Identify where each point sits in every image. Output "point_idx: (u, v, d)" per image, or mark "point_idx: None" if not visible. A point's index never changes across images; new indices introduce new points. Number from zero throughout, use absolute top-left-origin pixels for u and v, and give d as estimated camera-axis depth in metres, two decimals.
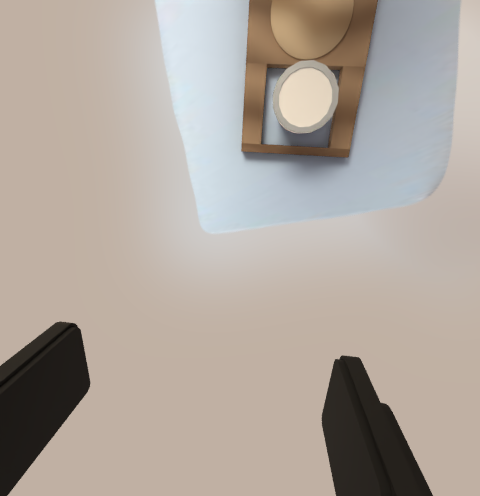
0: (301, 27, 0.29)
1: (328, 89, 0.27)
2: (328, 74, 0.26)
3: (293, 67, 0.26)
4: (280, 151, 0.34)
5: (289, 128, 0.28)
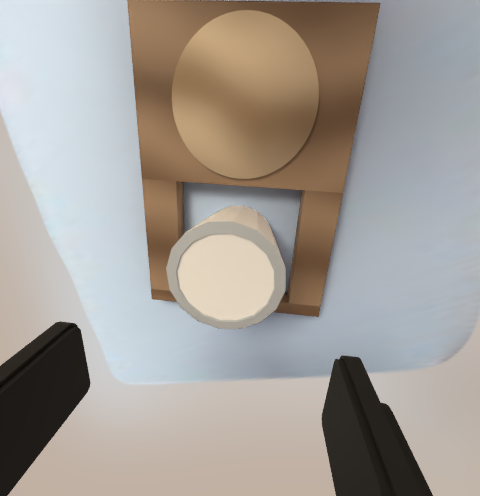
0: (228, 129, 0.16)
1: (266, 269, 0.14)
2: (264, 247, 0.13)
3: (197, 231, 0.14)
4: None
5: (202, 320, 0.16)
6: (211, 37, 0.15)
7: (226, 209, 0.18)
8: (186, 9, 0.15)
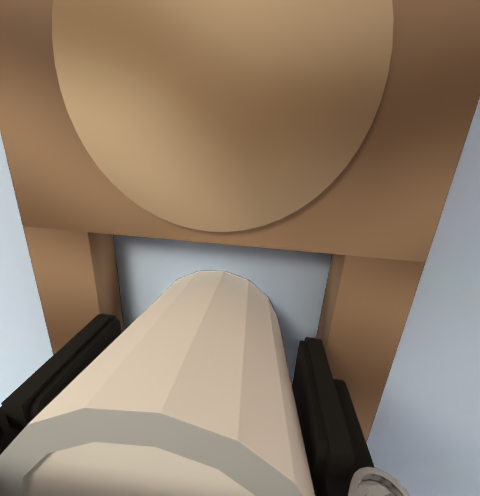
0: (181, 129, 0.07)
1: None
2: (258, 484, 0.04)
3: (58, 428, 0.05)
4: None
5: None
6: None
7: (185, 290, 0.09)
8: None
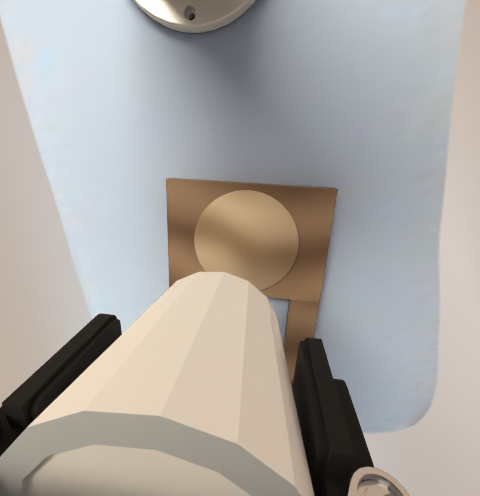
0: (234, 259, 0.23)
1: None
2: (258, 487, 0.04)
3: (57, 431, 0.05)
4: None
5: None
6: (223, 204, 0.21)
7: (185, 291, 0.09)
8: (206, 186, 0.21)
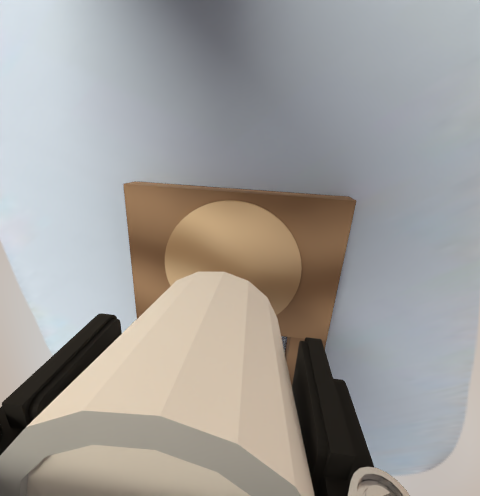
0: None
1: None
2: (258, 487, 0.04)
3: (56, 430, 0.04)
4: None
5: None
6: (201, 219, 0.16)
7: (185, 291, 0.09)
8: (178, 194, 0.16)
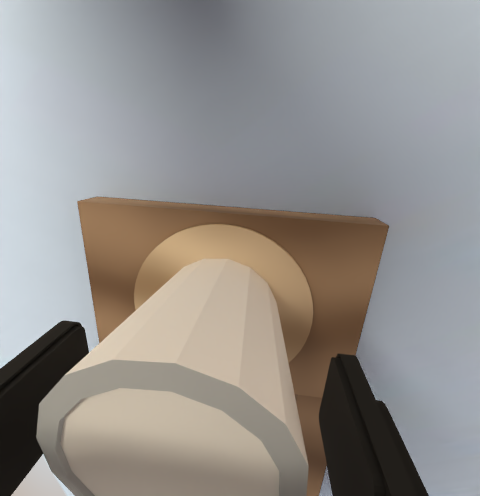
0: None
1: (261, 463, 0.06)
2: (255, 424, 0.05)
3: (90, 377, 0.05)
4: None
5: None
6: (179, 248, 0.12)
7: (192, 274, 0.10)
8: (149, 215, 0.12)
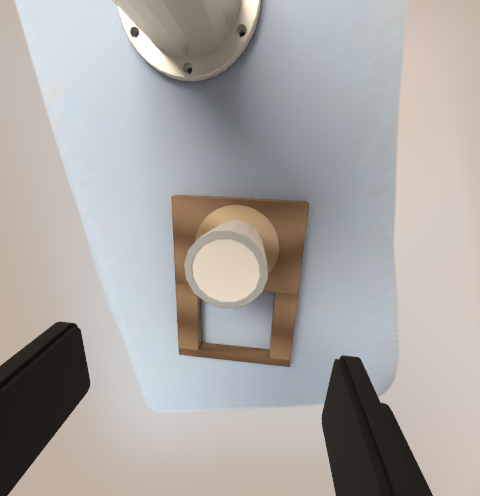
0: None
1: (254, 263, 0.20)
2: (251, 247, 0.20)
3: (206, 237, 0.20)
4: (219, 357, 0.32)
5: (209, 302, 0.22)
6: (217, 216, 0.26)
7: (226, 223, 0.24)
8: (204, 202, 0.26)
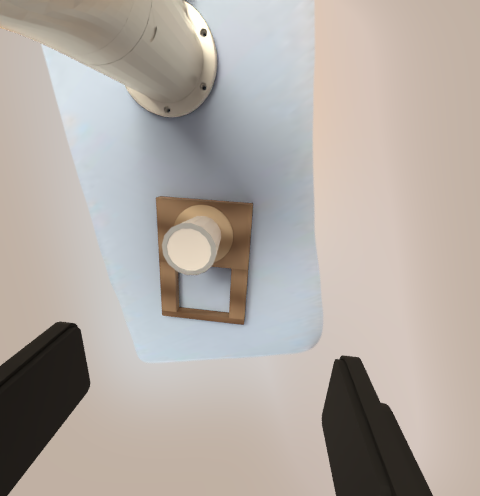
0: None
1: (207, 245, 0.31)
2: (205, 234, 0.31)
3: (176, 227, 0.31)
4: (192, 317, 0.43)
5: (178, 270, 0.33)
6: (189, 212, 0.37)
7: None
8: (179, 202, 0.37)
